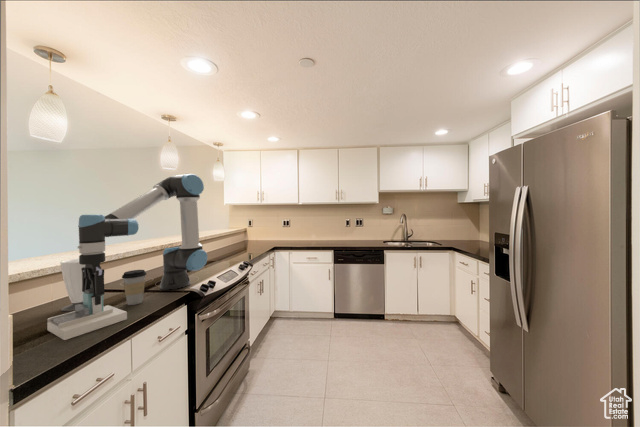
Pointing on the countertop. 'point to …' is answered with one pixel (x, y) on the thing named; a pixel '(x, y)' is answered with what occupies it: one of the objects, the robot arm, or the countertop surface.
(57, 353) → the countertop surface
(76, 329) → the socket plate
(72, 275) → the cup
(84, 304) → the teal bottle
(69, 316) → the shutter
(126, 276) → the coffee cup
